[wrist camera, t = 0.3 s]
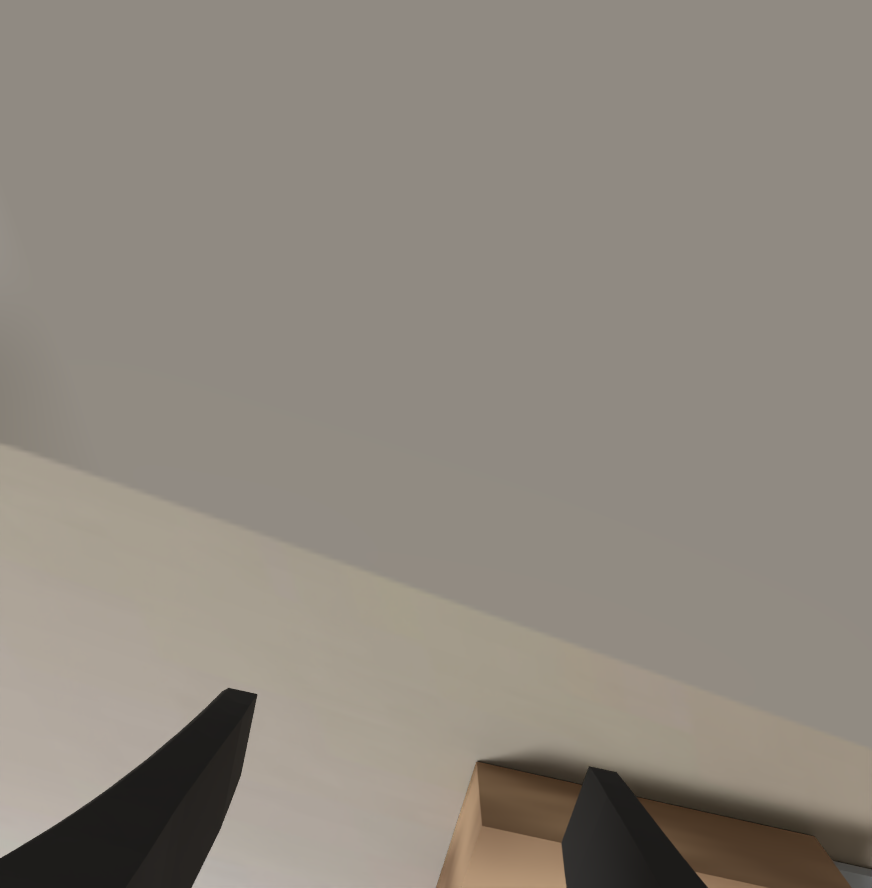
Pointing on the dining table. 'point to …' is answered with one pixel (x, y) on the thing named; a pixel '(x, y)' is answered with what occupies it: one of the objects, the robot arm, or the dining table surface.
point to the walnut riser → (691, 832)
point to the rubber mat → (855, 875)
